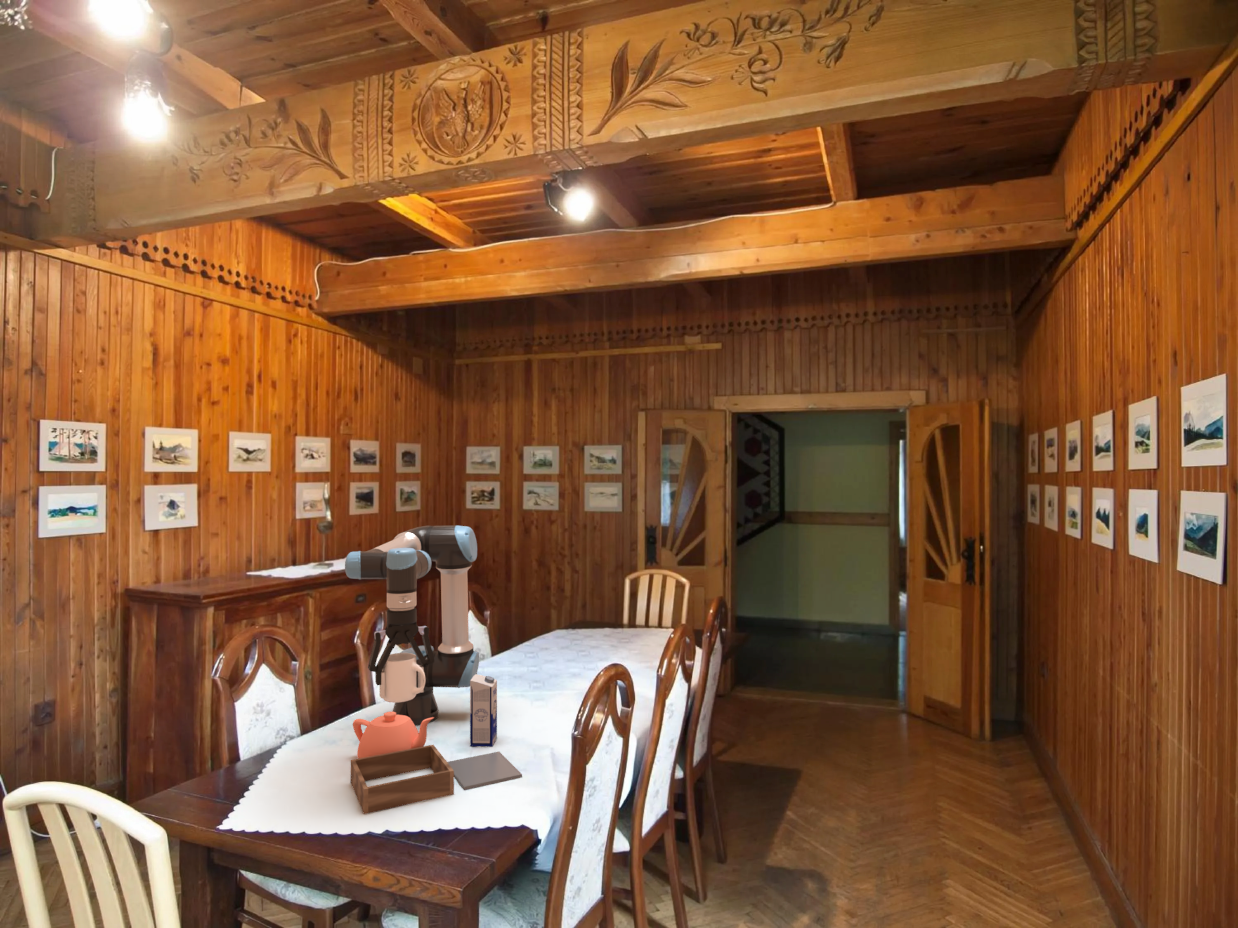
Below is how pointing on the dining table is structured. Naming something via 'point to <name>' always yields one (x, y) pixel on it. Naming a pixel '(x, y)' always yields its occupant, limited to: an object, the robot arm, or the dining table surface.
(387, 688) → the mug
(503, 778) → the slate trivet
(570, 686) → the dining table surface
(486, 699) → the milk carton
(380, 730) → the teapot
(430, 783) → the walnut caddy
